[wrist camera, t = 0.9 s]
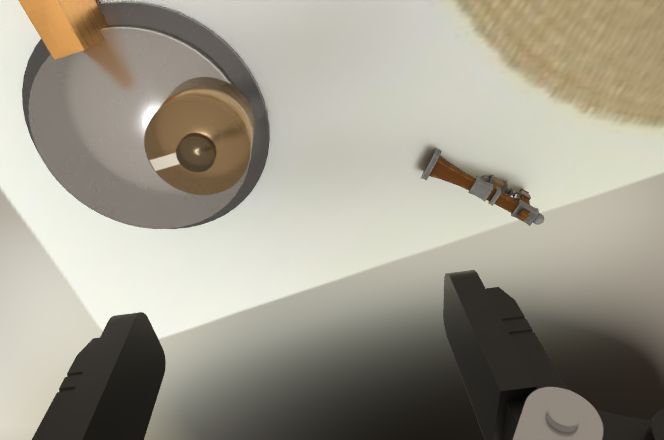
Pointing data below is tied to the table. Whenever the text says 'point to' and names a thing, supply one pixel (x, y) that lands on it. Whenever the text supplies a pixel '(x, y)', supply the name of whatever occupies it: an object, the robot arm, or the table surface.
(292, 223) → the table surface
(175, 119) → the cover
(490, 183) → the toy blunderbuss
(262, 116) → the base plate
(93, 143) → the silver disc with handle
